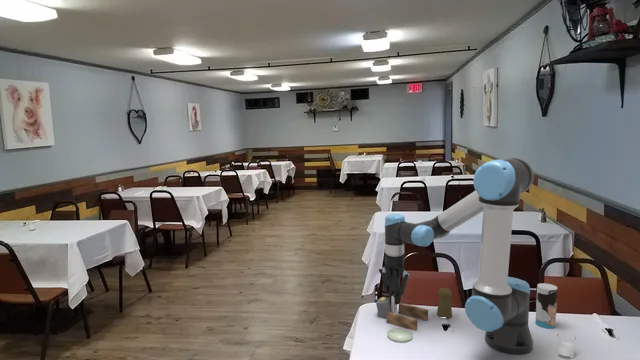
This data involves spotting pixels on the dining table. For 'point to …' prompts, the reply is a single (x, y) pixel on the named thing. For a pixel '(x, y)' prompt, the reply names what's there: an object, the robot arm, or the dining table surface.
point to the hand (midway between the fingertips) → (394, 311)
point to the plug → (383, 307)
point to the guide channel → (407, 321)
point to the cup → (546, 305)
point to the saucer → (400, 335)
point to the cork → (444, 303)
